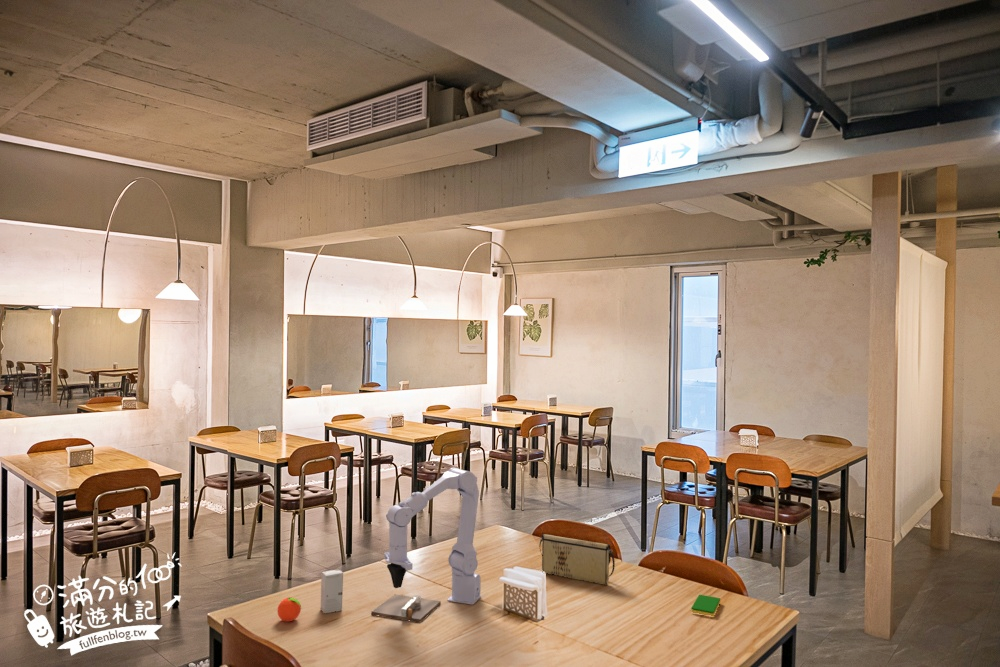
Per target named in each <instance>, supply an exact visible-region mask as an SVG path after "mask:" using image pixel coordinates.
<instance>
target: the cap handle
mask: <svg viewBox="0 0 1000 667" xmlns="http://www.w3.org/2000/svg"><path fill="white" fill-rule="evenodd" d="M421 598H422V597H421V596H420V595H411V596H410V601H409V602H408V603H407V604H406V605H405V606H404V607H403V608H402V609H401V617H406V616H407V610H408V609H412V610H413V609H414V608H415V607H419V606H420V605H421Z"/></svg>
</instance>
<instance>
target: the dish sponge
mask: <svg viewBox="0 0 1000 667" xmlns="http://www.w3.org/2000/svg"><path fill="white" fill-rule="evenodd" d="M719 604H720V605H721V598H720V597H715V596H710V595H705V594H699V595H697V597H696V599H695V601H694V602H693V604H692V606H691V608H690V609H691V610H690V611H691V612H693V613H699V614H704V615H711V616H714V614H715V612H716V610H717V608H718V606H719ZM719 607H720V606H719ZM718 609H719V608H718ZM717 611H718V610H717ZM716 613H717V612H716ZM715 615H716V614H715ZM714 617H715V616H714Z"/></svg>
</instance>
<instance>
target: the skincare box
mask: <svg viewBox="0 0 1000 667" xmlns="http://www.w3.org/2000/svg"><path fill="white" fill-rule="evenodd" d="M320 580H321V582H320V583H321V585H320V586H321V587H320V607H319V608H320V610H322V611H323V612H324V613H325V614H330V613H335V611H336V612H341V611H342V610H343V591H344V588H343V587H344V572H343V571H342V570H340V569H334V570H333V569H332V570H327V571H321V578H320ZM322 611H321V612H322ZM323 612H322V613H323ZM324 613H323V614H324Z"/></svg>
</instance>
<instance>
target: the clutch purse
mask: <svg viewBox="0 0 1000 667" xmlns="http://www.w3.org/2000/svg"><path fill="white" fill-rule="evenodd" d="M541 544H542V545H541ZM541 547H542V550H541ZM539 551H540V554H541V556H542V558H541V562H542V563H541V570H543V571H545V572H546V573H545V574H547V573H548V574H547V575H552V574H554V575H553V576H557V575H559V576H558V577H562V576H564V577H563V578H567V577H568V579H574V580H579V581H583V580H584V582H588V581H589V583H593V582H595V584H600V585H604V584H605V586H606V585H607V586H608V585H609V578H610V577H611V576H612V575H613V573H614V571H615V567H616V566H615V562H616V561H615V556H614V553H613V549H612V548H611V544H606V543H602V542H595V541H590V540H589V541H588V540H582V539H576V538H571V537H570V538H569V537H564V536H563V537H562V536H558V535H557V536H556V535H552V534H545V533H543V534H541V536H540V542H539ZM611 560H612V570H611V573H610V572H609V571H610V563H611ZM543 571H542V572H543Z"/></svg>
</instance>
